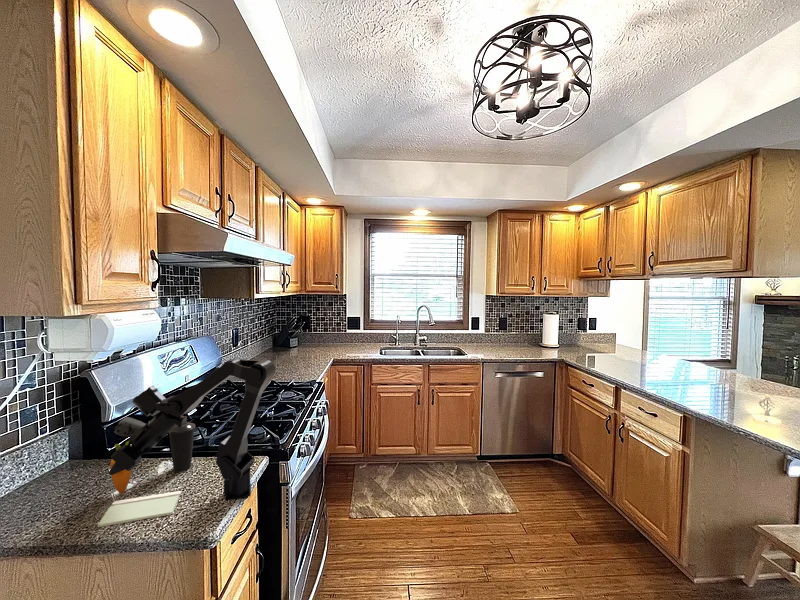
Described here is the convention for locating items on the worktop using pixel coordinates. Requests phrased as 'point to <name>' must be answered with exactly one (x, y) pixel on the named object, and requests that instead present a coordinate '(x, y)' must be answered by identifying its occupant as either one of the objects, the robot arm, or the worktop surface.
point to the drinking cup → (182, 446)
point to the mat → (139, 510)
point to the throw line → (146, 498)
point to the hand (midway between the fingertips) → (115, 468)
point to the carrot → (120, 476)
